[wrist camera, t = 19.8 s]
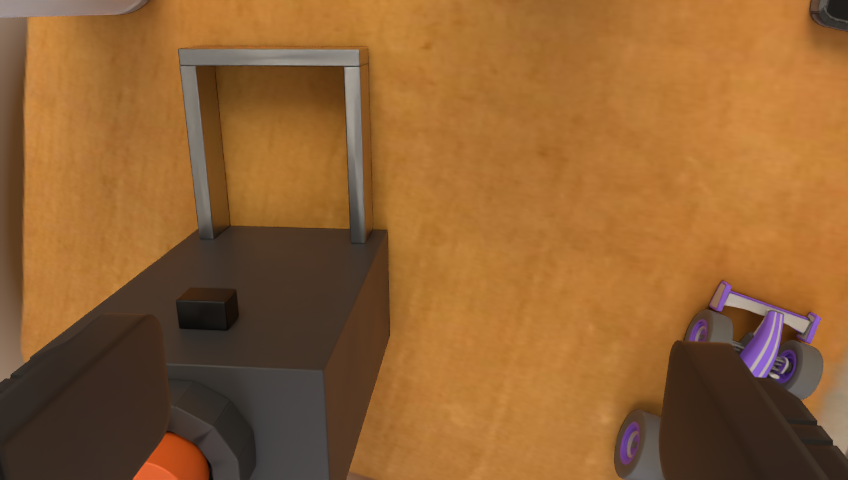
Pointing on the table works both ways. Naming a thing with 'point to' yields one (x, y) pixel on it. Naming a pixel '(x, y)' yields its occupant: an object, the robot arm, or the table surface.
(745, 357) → the toy race car
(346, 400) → the coffee maker
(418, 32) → the table surface
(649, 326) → the table surface
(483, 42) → the table surface
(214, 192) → the frame
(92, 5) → the travel mug
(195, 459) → the button
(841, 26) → the phone
